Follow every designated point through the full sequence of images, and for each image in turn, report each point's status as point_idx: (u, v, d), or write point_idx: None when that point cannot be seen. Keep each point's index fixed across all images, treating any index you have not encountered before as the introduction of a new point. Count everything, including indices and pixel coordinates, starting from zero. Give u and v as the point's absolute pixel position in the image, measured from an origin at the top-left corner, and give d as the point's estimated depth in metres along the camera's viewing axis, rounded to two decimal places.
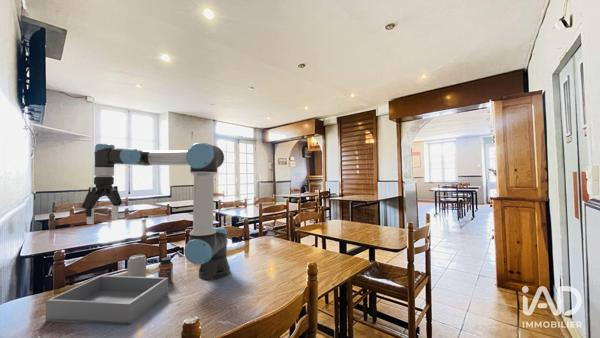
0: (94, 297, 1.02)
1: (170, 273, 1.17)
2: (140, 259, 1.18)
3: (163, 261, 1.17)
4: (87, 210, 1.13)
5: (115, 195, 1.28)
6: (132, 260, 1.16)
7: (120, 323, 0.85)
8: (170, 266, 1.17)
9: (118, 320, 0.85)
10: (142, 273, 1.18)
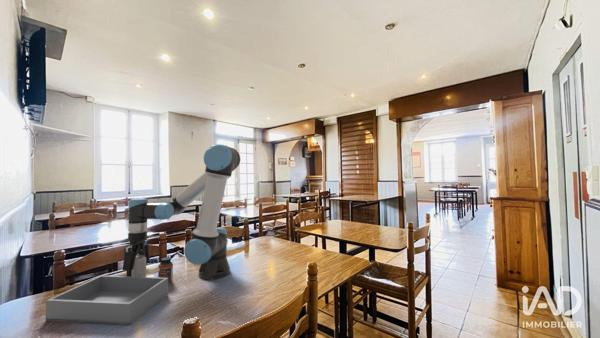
0: (94, 297, 1.02)
1: (170, 273, 1.17)
2: (140, 259, 1.18)
3: (163, 261, 1.17)
4: (128, 271, 1.14)
5: (145, 250, 1.25)
6: None
7: (120, 323, 0.85)
8: (170, 266, 1.17)
9: (118, 320, 0.85)
10: (142, 273, 1.18)
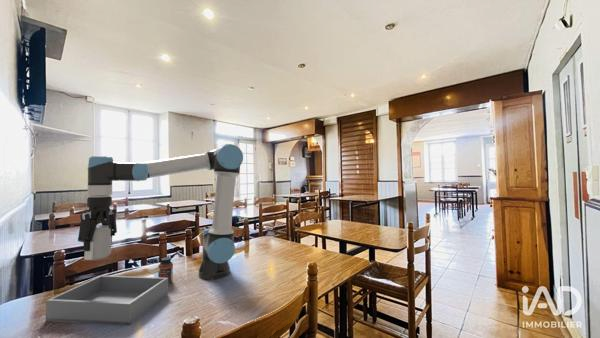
0: (94, 297, 1.02)
1: (170, 273, 1.17)
2: (102, 229, 0.96)
3: (163, 261, 1.17)
4: (85, 243, 0.92)
5: (111, 221, 1.04)
6: None
7: (120, 323, 0.85)
8: (170, 266, 1.17)
9: (118, 320, 0.85)
10: (105, 247, 0.97)
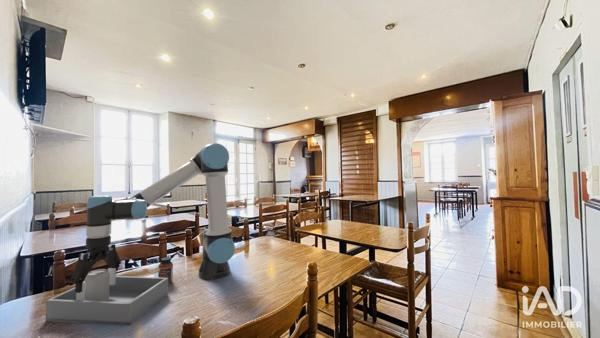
0: None
1: (170, 273, 1.17)
2: (100, 275, 0.96)
3: (163, 261, 1.17)
4: (77, 284, 0.89)
5: (112, 255, 1.05)
6: (90, 277, 0.95)
7: (120, 323, 0.85)
8: (170, 266, 1.17)
9: (118, 320, 0.85)
10: (103, 293, 0.96)
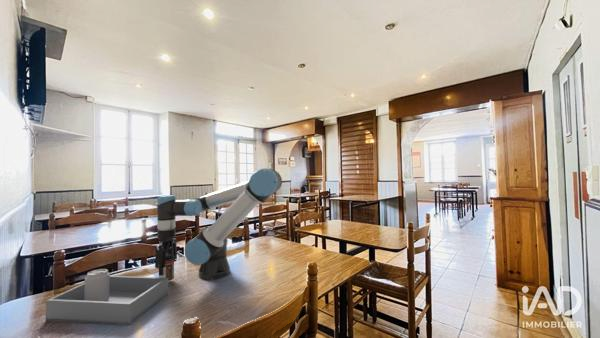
0: None
1: (171, 269, 1.17)
2: (101, 275, 0.96)
3: None
4: (160, 269, 1.14)
5: (173, 248, 1.24)
6: (90, 277, 0.95)
7: (120, 323, 0.85)
8: (171, 262, 1.17)
9: (118, 320, 0.85)
10: (104, 293, 0.96)
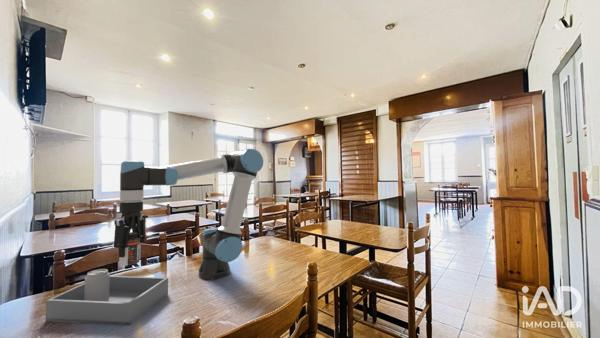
0: None
1: (136, 251, 0.96)
2: (101, 275, 0.96)
3: None
4: (120, 249, 0.92)
5: (140, 227, 1.02)
6: (90, 277, 0.95)
7: (120, 323, 0.85)
8: (136, 242, 0.96)
9: (118, 320, 0.85)
10: (104, 293, 0.96)
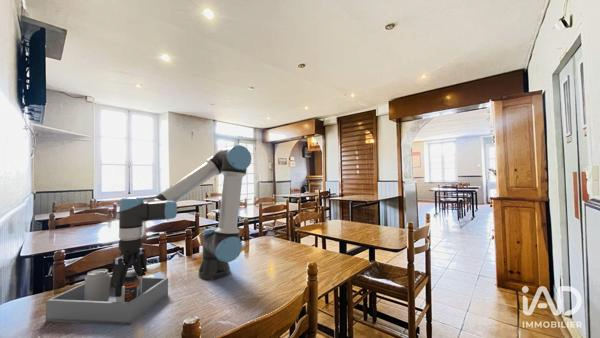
0: None
1: (135, 293, 0.96)
2: (101, 275, 0.96)
3: (126, 278, 0.94)
4: (117, 289, 0.90)
5: (141, 260, 1.03)
6: (90, 277, 0.95)
7: (120, 323, 0.85)
8: (135, 284, 0.95)
9: (118, 320, 0.85)
10: (104, 293, 0.96)
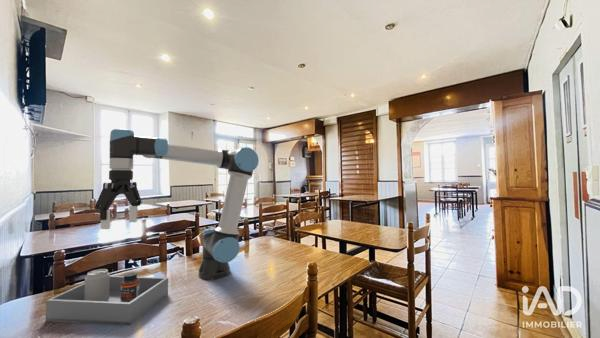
0: None
1: (135, 292, 0.96)
2: (101, 275, 0.96)
3: (126, 278, 0.95)
4: (101, 212, 0.89)
5: (134, 193, 1.05)
6: (90, 277, 0.95)
7: (120, 323, 0.85)
8: (135, 284, 0.96)
9: (118, 320, 0.85)
10: (104, 293, 0.96)
